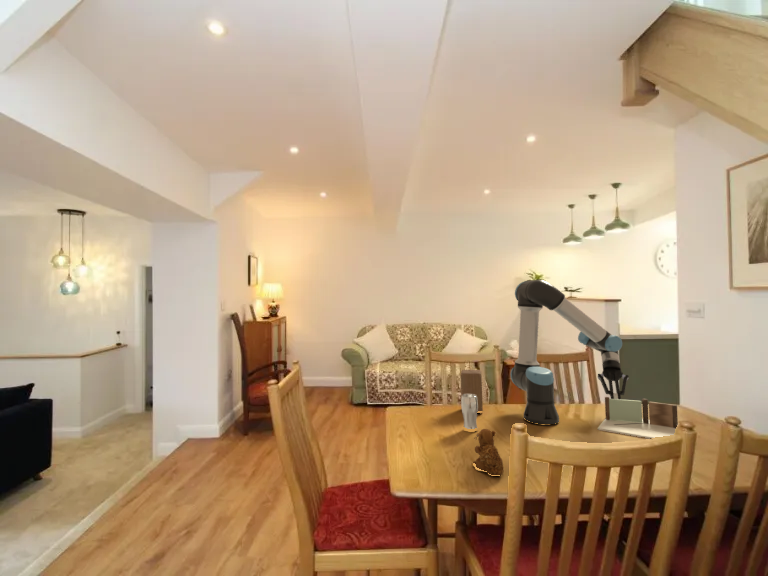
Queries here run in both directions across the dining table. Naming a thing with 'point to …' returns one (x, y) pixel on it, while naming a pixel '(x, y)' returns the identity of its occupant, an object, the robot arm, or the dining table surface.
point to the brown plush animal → (488, 453)
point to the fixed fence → (660, 414)
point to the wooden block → (472, 385)
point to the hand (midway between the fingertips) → (616, 407)
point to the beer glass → (469, 410)
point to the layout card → (636, 428)
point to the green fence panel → (623, 410)
